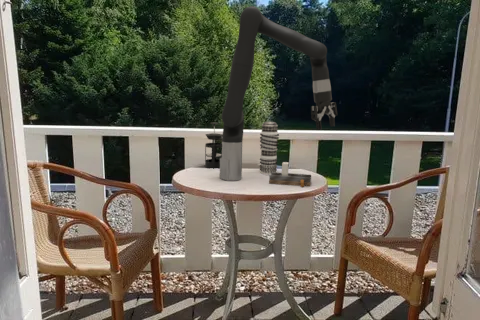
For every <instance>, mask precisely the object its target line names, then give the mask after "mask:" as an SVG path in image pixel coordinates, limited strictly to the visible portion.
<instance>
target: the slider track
mask: <svg viewBox="0 0 480 320" xmlns="http://www.w3.org/2000/svg"><path fill="white" fill-rule="evenodd" d="M280 175H282V172H278V171H276V172H271V175H269V180H268V184H270V185H281V186H282V185H284V186H298V187H300V188H304V187H308V188H309V187H311V184H312V183H311V182H312V175H311V174H304V173H291V172H290V173H289V172H288V175H290V176H280Z"/></svg>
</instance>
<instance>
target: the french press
mask: <svg viewBox="0 0 480 320" xmlns="http://www.w3.org/2000/svg"><path fill="white" fill-rule="evenodd" d="M210 124H211V125H213V126H212V127H213V132H212V133H205V136H206V138H207V139H208V140H211V141H213V142H206V143H205V145H204V147H205V148H204V149H205V150H204V151H205V153H204V154H205V155H204V156H205V157H204V159H205V160H204V164H205V165H204V168H207V169H210V168H213V170H215V169H214V168H218V169H220V158H222V153H217V149H222V142H221V143H220V142H215V141H221V140H222V135H223V133H216V132H215V131H216V130H215V128H216V125H218V124H219V122H210ZM207 148H210V149H211V152H210V153H207ZM207 157H208V158H209V159H208V158H207Z"/></svg>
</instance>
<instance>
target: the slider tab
mask: <svg viewBox="0 0 480 320" xmlns="http://www.w3.org/2000/svg"><path fill="white" fill-rule="evenodd" d="M289 163H290V162H287V161H282V163H281V165H282V166H281V173H282V175H280V176H290V175H288V173H289Z"/></svg>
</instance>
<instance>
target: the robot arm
mask: <svg viewBox="0 0 480 320" xmlns="http://www.w3.org/2000/svg"><path fill="white" fill-rule="evenodd" d="M239 17H240V19H239V30H238V38H237V43H236V47H235V50H234V53H233V58H232V62H231V68H230V72H229V73H230V74H229V78H228V89H227V96H226V99H225V102H224V105H223V109H222V113H221V120H222V123H223V130H222V134H223V135H222V139H221V144H222V147H221V154H222V156H221V157H219V159H220V168H219V179H221V180H223V181H234V182H235V181H241V180H242V178H243V177H242V170H243V139H244V138H243V137H244V124H245V123H244V122H245V119H244V118H245V117H244V116H245V115H244V111H243V105H244V100H245V95H246V93H247V90H248V87H249V84H250V81H251V78H252V74H253V69H254V62H255V47H256V46H255V44H256V39H257V35H258V34H261V35H264V36H267V37H269V38H271V39H273V40H275V41H277V42H279V43H281V44H282V45H284V46H286V47H288V48H290V49H292V50H293V51H296V52H300V53H303V54H304V55H306V56H308V57H309V59H310V65H311V79H312V92H313V93H312V94H313V101H314V103H315V105H312V106H310V115H311V116H310V117H311V120H312V121H314V122H315V127H316V129H317V130H318V131H319V130H320V131H322V129H323V127H322V118H323V117H324V115H327V116H328V119H329V122H328V123H329V126H330V127H335V126H336V122H335V121H336V119H335V118H336V116H338V109H337V102H334V101H333V102H331V101H332V100H333V97H332V86H331V80H330V74H329V73H330V72H329V67H328V63H327V54H328V48H327V46H326V44H324V43H322V42H320V41H319V40H318V41H317V40H316V39H312V38H310V37H307V36H306V35H304V34H302V33H300V32H298V31H296V30H293V29H292V28H289V27H287V26H283V25H280V24H279V23H277V22H276V23H275V22H274V21H272V20H271V19H269V18H267V17H266V16H265V15H263V14H262V12H261V11H260V9H259V8H258V7H256V6H252V5H251V6H247V7H245V8H244V9H243V10H242V12H241V14H240V16H239Z"/></svg>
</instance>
